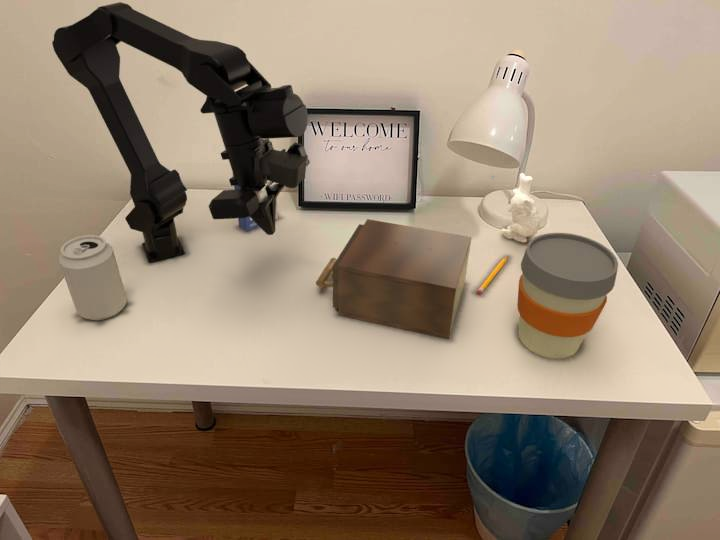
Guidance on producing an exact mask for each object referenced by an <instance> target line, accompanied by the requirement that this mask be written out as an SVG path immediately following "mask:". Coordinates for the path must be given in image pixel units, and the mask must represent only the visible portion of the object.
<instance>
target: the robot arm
mask: <svg viewBox="0 0 720 540" xmlns="http://www.w3.org/2000/svg"><path fill="white" fill-rule="evenodd" d="M120 43H123V44H125V45H127V46H130V47H131V48H133V49H136V50H138V51H140V52H142V53H144V54H146V55H148V56H150V57H152V58H154V59H156V60H158V61H160V62H162V63H164V64H166V65H169V66H171V67H172V68H174V69H176V70H177V71H179V72H180V73H181V74H182V75H183V77H184V79H185V81H186V82H187V83H188V84H189V85H190V86H192V87H193V88H195V89H196V90H197V91H199V92H200V93H202V94H203V95H204V96H206V98H205V101H204V103H203V105H202V106H201V108H200V113H201V114H213V116H214V118H215V121H216V124H217V127H218V130H219V134H220V137H221V140H222V143H223V146H224V149H225V150H223V151H221V152H220V157H221V159H222V160H223V161H226V160H228V162H229V165H230V168H231V172H232V177H230V178H229V179H228V182H229V185H230V187H234V186H235V185H239V187H240V189H236V190H235V189H223V190H222V191H221V192H220V193H218V194H217V195H216V196H215V197H213V198H212V199H211V201H210V203H209V204H208V210H209V212H210V215H211V218H212V219H213V220H231V219H238V218H246V217H251V218H252V220H254V221H255V223H256V224H257V225H258V226H259V227H260V229H261V230H262V231H263V232H264V233H265V234H266V235H268V236H273V235H274V234H275V233H276V220H277V219H276V199H277V198H278V196H279V195H280V193H281V192H282V191H283V189H284V188H288V189H295V188H297V187H298V186H299V184H300V183H302V181H304V180H305V179H306V172H307V167H308V166H309V165H310V163H311V161H310V159H309V155H308V154H307V151H306V148H305V145H304V144H302V143H299V142H293V144H291V145H290V146H289V147H288V149H287V150H286V149H285V148H282V150H277V149H275V148H274V145H273V142H272V141H271V140H270V139H286V138H289V139H290V138H299V137H302V136H303V135H304V134H305V133H306V130H307V127H308V122H309V119H308V117H309V116H308V115H309V114H308V109H307V106H306V104H304V102H303V101H304V100H303V99H302V98H301V96H299V95H298V94H296V93H294V89H293V86H292V84H285V85H281V86H279V87H272V84H271V83H270V82H269V81H268V80H267V79H266V78H265V77H264V76H263V74H261V72H259V71H258V70H257V68H256V67H255V66H254V65H253V64H252V63H251V61H249V60H248V58H247V54H246V53H245V51H244V50H243V49H241V48H240V47H238V46H236V45H233V44H229V43H225V42H221V41H217V40H206V39H199V38H195V37H192V36H190V35H188V34H186V33H183V32H181V31H180V30H177V29H175V28H173V27H171V26H169V25H167V24H166V23H163V22H160V21H159V20H156V19H154V18H152V17H150V16H148V15H146V14H143V13H142V12H139V11H138V10H136V9H133V7H132V6H131V5H130V4H128V3H125V2H122V1H120V2H114V3H109V4H106V5H101V6H97V8H96V9H95V10H93V11H92V12H91V13H90V14H88V15H87V16H85V17H84V18H81V19H80V20H78V21H76V22H75V23H73V24H70V25H66V26H62V27H58V28H57V29H55V31H54V34H53V40H52V48H53V51H54V53H55V55H56V57H57V58H58V60H59V61H60V63H61V65H62V66H63V68H64V69H65V71H66V72H67V74H69V76H70V77H71V78H73V79H74V80H75V81H77V82H78V83H79V84H80V85H82V86H83V87H85V88H86V89H87V90H88V92H89V94H90V96H91V98H92V100H93V102H94V103H95V106H96V108H97V110H98V112H99V114H100V116H101V118H102V120H103V122H104V124H105V126H106V128H107V130H108V131H109V134H110V135H111V137H112V140H113V141H114V143H115V146H116V148H117V149H118V151H119V153H120V155H121V157H122V160H123V161H124V163H125V165H126V167H127V170H128V171H129V173H130V184H129V185H130V187H129V188H130V189H129V194H130V198H131V199H132V202H133V204H134V205H133V206H134V207H133V208H132V209H131V211H129V212H128V214H127V215H126V216H125V217H124V220H125V221H126V223H127V225H128V227H129V229H130V230H134V231H137V232H141V233H142V236H143V240H144V242H142V243H141V247H142V249H143V252H144V254H145V257H146V259H147V262H148V263H152V262H153V263H154V262H156V261H161V260H165V259H170V258H174V257H178V256H182V255H184V254H185V253H186V252H185V249H184V247H183V244H182V242H181V240H180V237H179V236H178V233H177V228H176V223H175V222H176V221H175V218H176V217H178V216H180V215H182V214H183V213H184V207H185V206H186V203H187V201H188V195H187V192H186V191H188V189H187V187H186V186H185V185H184V182H183V181H182V178H181V175H180V172H178V170H177V169H172V170H170V169H168V168H167V167H165V166H164V165H163V164H162V163H161V161H159V159H158V157H157V155H156V152H155V150H154V148H153V146H152V144H151V141H150V140H149V138H148V135H147V133H146V131H145V129H144V127H143V125H142V123H141V121H140V118H139V117H138V115H137V113H136V110H135V108H134V106H133V104H132V101H131V99H130V98H129V96H128V93H127V92H126V89H125V87H124V85H123V83H122V81H121V78H120V71H121V70H120V69H121V56H120V53H119V49H118V47H117V45H119V44H120ZM233 175H234V176H233ZM277 200H278V199H277ZM275 219H276V220H275ZM259 227H258V228H259Z"/></svg>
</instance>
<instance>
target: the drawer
mask: <svg viewBox="0 0 720 540" xmlns="http://www.w3.org/2000/svg"><path fill="white" fill-rule="evenodd" d="M363 225H364V224H358V226H357V227H356V228H355V230H354V232H353V233H352V235H351V236H350V238H349V239H348V241H347V243H346V244H345V246H344V248H343V249H342V251H341V252H340V254H339V255H338V257H337V258H336V257H331V258H330V259H329V261H328V262H327V264H326V265H325V267H324V269H323V270H322V272H321V274H320V275H319V276H318V278H317V279H316V281H315V285H316V287H318V288H324V286H325V287H330V288H332V307H333V308H336V309H339V269H338V266H339V264H340V262H341V261H342V259H343V257H344V256H345V254H346V253H347V251H348V249H349V248H350V246H351V245H352V243H353V241H354V240H355V238H356V236H357V235H358V233H359V232H360V230H361V228H362V227H363ZM331 275H332V276H331ZM330 276H331V277H332V281H329V278H330Z"/></svg>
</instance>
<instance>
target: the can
mask: <svg viewBox="0 0 720 540" xmlns="http://www.w3.org/2000/svg"><path fill="white" fill-rule="evenodd" d="M58 263H59V266H60V270H61V271H62V274H63V277H64V281H65V283H66V286H67V289H68V291H69V294H70V297H71V300H72V302H73V305H74V308H75V311H76V313H77V314H78V316H79V317H81V318H83V319H87V320H91V321H103V320H107V319H110V318H113V317H114V316H116V315H117V314H119V313H120V312H121V311H122V310H123V308H124V307H125V306H126V305H127V301H128V298H127V294H126V291H125V287H124V284H123V280H122V276H121V272H120V269H119V266H118V262H117V258H116V255H115V252H114V248H113V246H112V245H111V244H110V243H108V242H107V240H106V239H105V237H102V236H100V235H97V234H85V235H80V236H77V237H74V238H71V239H70V240H67V241H66V242H65V243H64V244H63V245H62V246H61V248H60V255H59V257H58Z"/></svg>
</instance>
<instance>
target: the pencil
mask: <svg viewBox="0 0 720 540" xmlns="http://www.w3.org/2000/svg"><path fill="white" fill-rule="evenodd" d="M507 260H508V256H505V257H503V258H502V259H501V260H500V262H499V263H497V266H495V267H494V268H493V270H492V272H491V273H490V274H489V276H488V277H487V278H486V279H485V281H484V282H483V283H482V284H481V286H480V287H479V288H478V289H477V290H476V294H477V295H479V296H480V295H481V294H482V293H483V292H484V291H485V289H486V288H487V287H488V286H489V284H490V283H491V282H492V280H493V279H494V278H495V277H496V275H497V274H498V272H499V271H501V269H502V267H503V266H504V265H505V264H506V263H507Z"/></svg>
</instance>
